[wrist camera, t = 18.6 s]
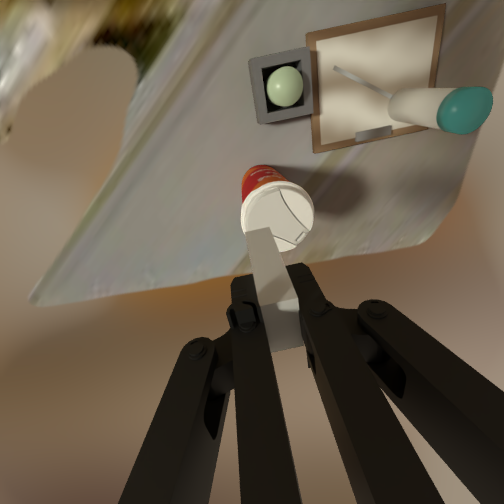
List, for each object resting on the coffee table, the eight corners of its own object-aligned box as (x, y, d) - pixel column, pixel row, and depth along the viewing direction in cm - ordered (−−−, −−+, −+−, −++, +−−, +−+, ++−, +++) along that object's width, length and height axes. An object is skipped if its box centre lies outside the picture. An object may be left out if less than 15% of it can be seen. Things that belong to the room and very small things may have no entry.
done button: (262, 73, 33) (267, 70, 30) (293, 66, 33) (301, 62, 30) (267, 108, 35) (272, 109, 32) (296, 102, 35) (304, 102, 32)
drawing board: (305, 34, 32) (309, 31, 31) (441, 5, 32) (450, 1, 31) (313, 152, 40) (316, 154, 38) (424, 128, 40) (431, 129, 38)
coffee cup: (297, 177, 41) (333, 213, 28) (265, 218, 44) (284, 268, 31) (254, 143, 38) (273, 166, 25) (222, 190, 41) (225, 232, 28)
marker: (388, 90, 36) (455, 91, 25) (419, 84, 36) (498, 82, 25) (385, 124, 38) (445, 137, 28) (414, 118, 38) (485, 130, 28)
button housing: (248, 61, 33) (250, 58, 31) (302, 50, 33) (309, 45, 31) (257, 122, 37) (260, 124, 34) (306, 112, 37) (313, 113, 34)
